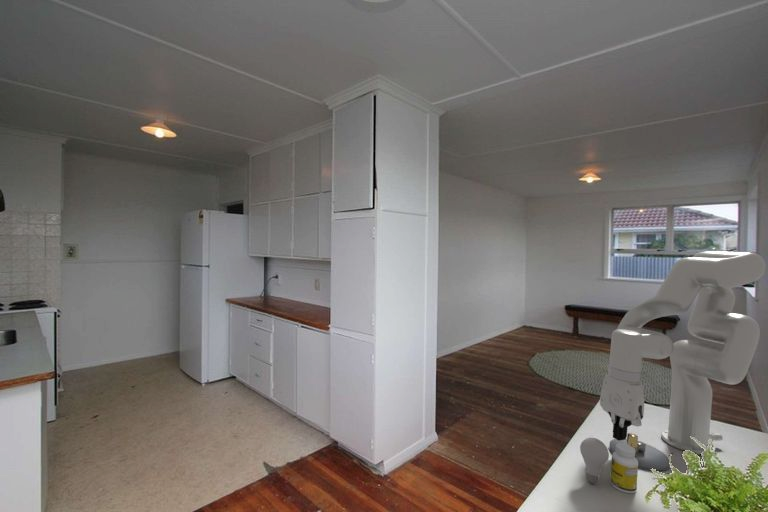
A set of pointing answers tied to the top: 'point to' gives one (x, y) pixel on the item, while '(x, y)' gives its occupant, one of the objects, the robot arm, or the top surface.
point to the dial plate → (646, 456)
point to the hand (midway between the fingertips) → (619, 438)
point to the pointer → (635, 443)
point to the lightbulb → (594, 457)
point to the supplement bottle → (624, 468)
